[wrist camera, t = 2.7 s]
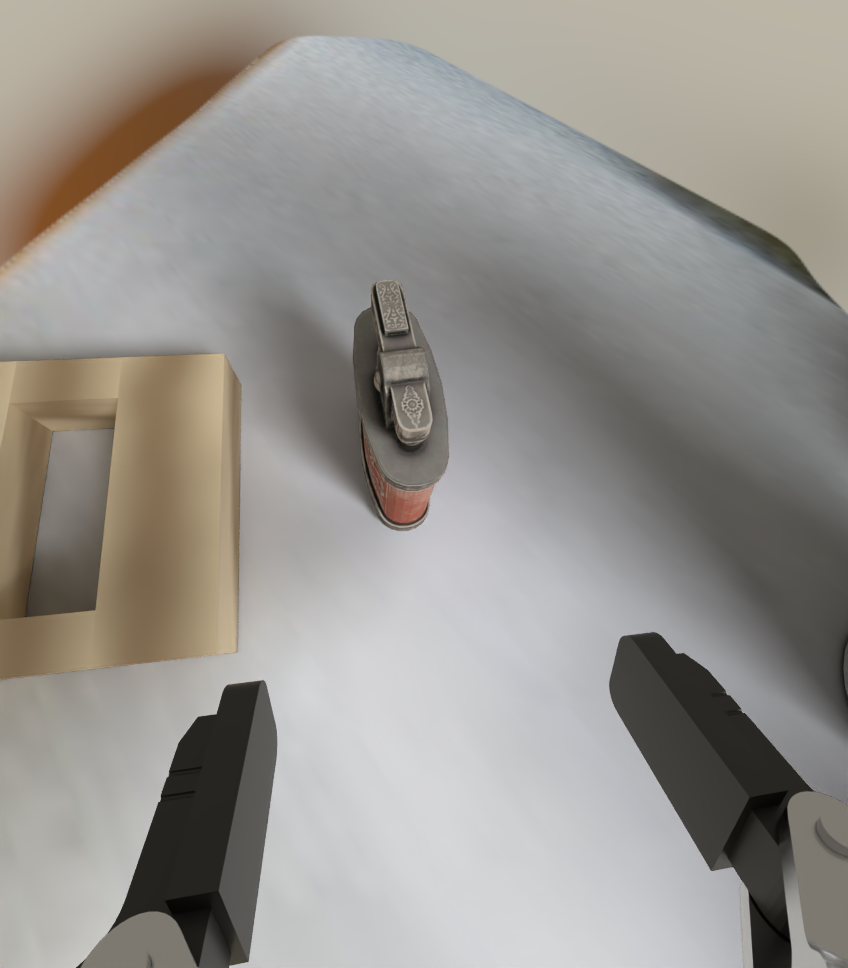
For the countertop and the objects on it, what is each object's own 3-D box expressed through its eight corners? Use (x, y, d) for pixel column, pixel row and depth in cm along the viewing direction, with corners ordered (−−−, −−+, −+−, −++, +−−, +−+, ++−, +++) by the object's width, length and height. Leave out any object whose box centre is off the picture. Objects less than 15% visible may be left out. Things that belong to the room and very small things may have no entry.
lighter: (439, 525, 24) (478, 451, 15) (375, 536, 24) (373, 467, 14) (409, 390, 27) (427, 252, 17) (350, 398, 26) (336, 260, 17)
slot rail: (241, 385, 26) (224, 353, 23) (237, 652, 21) (216, 653, 18) (-41, 398, 24) (-97, 365, 21) (-107, 691, 20) (-189, 700, 17)
